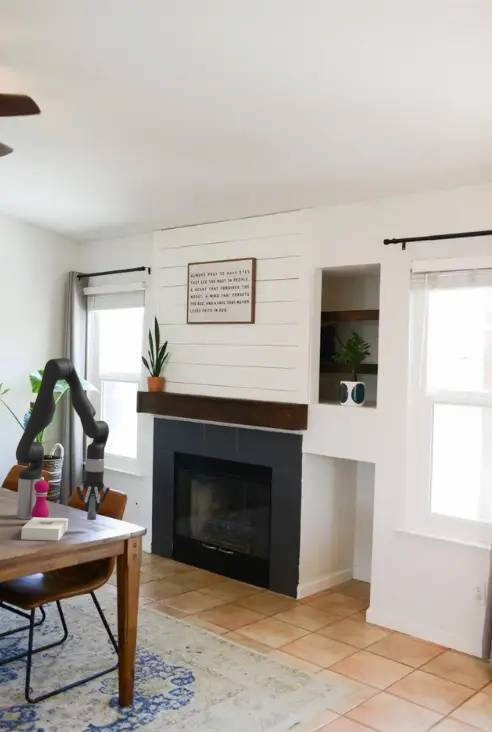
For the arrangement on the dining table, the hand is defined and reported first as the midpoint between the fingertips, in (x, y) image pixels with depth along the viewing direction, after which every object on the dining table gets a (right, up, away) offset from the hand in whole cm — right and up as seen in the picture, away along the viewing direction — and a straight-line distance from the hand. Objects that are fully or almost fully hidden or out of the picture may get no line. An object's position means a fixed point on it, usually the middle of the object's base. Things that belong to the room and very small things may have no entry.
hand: (91, 511), depth 294 cm
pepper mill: (-24, -8, +9) cm, 27 cm away
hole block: (-17, -7, -9) cm, 20 cm away
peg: (0, -3, 0) cm, 3 cm away
